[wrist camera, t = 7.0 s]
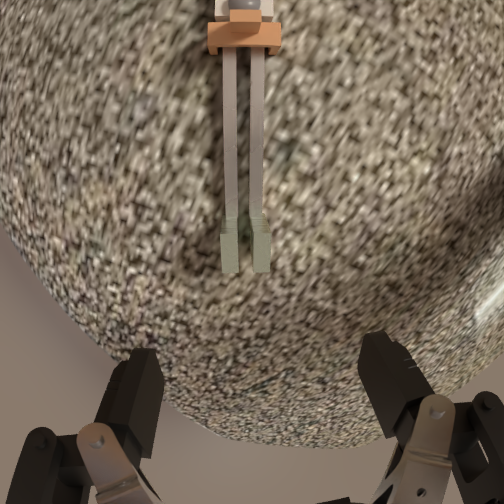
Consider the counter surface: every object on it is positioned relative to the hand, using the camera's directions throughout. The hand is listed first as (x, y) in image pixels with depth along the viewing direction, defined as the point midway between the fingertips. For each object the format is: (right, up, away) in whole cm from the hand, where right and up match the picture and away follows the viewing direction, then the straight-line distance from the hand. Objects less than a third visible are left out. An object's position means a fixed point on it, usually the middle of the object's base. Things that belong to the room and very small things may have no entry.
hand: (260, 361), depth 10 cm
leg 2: (0, +13, +12) cm, 18 cm away
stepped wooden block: (-1, +21, +8) cm, 22 cm away
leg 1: (-2, +13, +12) cm, 18 cm away
